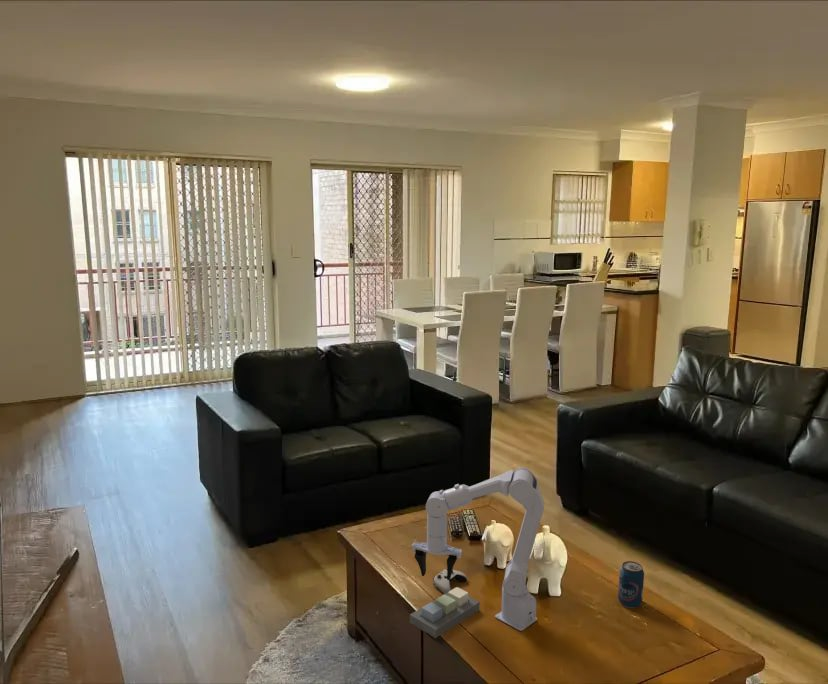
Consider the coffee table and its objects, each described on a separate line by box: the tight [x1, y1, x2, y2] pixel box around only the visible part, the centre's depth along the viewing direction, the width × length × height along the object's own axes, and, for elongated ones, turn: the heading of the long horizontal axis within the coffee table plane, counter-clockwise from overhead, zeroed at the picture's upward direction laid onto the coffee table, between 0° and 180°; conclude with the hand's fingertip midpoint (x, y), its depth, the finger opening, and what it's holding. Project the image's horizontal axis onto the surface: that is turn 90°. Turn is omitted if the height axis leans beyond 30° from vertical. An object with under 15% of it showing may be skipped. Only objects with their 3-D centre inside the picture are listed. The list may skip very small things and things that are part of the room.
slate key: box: [421, 601, 443, 623], centre depth 190 cm, size 4×4×4 cm
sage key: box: [434, 593, 456, 615], centre depth 194 cm, size 4×4×4 cm
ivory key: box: [448, 586, 469, 607], centre depth 198 cm, size 4×4×4 cm
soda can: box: [617, 560, 645, 609], centre depth 201 cm, size 7×7×12 cm
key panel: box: [409, 593, 481, 639], centre depth 194 cm, size 10×19×3 cm, turn 135°
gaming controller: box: [432, 568, 468, 594], centre depth 211 cm, size 11×6×7 cm
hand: (436, 576), depth 197 cm, fingers open, 7 cm apart
